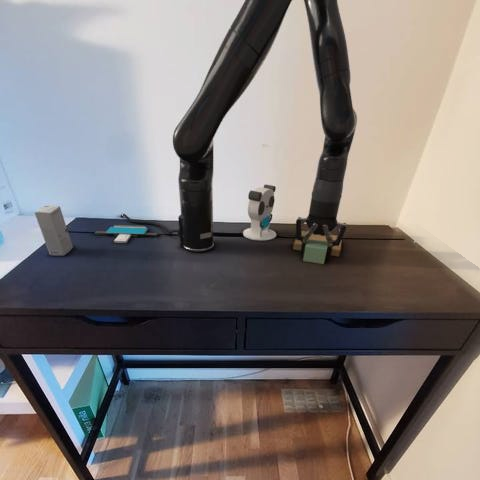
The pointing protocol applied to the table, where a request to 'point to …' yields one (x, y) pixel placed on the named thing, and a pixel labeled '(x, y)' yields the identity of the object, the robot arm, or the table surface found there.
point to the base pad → (335, 249)
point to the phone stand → (126, 232)
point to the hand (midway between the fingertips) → (314, 255)
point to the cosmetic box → (54, 230)
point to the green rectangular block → (315, 251)
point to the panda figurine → (261, 213)
